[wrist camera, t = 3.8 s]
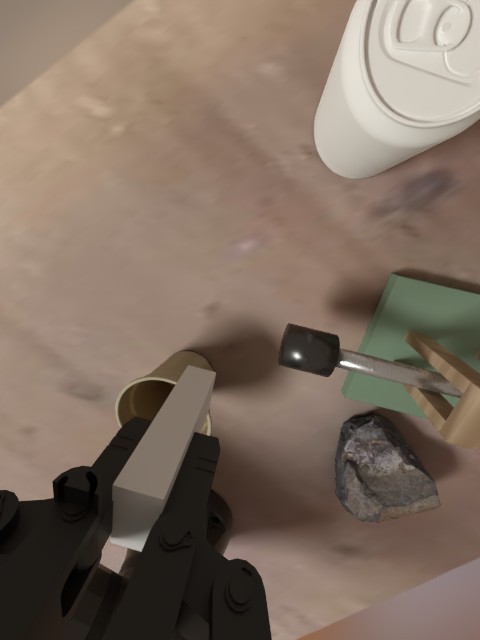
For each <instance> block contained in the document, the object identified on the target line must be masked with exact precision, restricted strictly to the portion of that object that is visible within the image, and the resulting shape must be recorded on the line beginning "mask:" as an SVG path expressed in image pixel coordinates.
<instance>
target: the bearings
mask: <svg viewBox="0 0 480 640" xmlns="http://www.w3.org/2000/svg"><path fill="white" fill-rule="evenodd" d="M403 340H404V341H406V342H407V343H408V344H409V345H410V346H411V347H412V348H413V349H414V350H415V351H417V352H418V353H419V354H420V355H421V356H422V357H423V358H424V359H425V360H426V361H428V362H429V363H430V364H431V365H432V366H433V367H434V368H435V369H436V370H437V371H438V372H440V373H441V374H442V375H443V376H444V377H445V378H446V379H447V380H448V381H449V382H451V383H452V384H453V385H454V386H455V387H456V388H457V389H458V390H459V391H460V392H462V393H463V395H462V397H461V398H460V400H459V401H458V403H457V404H456V406H455V408H454V407H453V406H452V405H451V404H450V403H449V402H448V401H447V400H446V399H445V398H444V397H443V396H442V395H441V394H440V393H437V392H433V391H429V390H425V389H421V388H417V387H413V386H409V385H405V384H402V385H403V387H404V388H405V389H406V390H407V392H408V393H409V394H410V395H411V397H412V398H413V399H414V401H415V402H416V403H417V404H418V406H419V407H420V408H421V410H422V411H423V412H424V413H425V415H426V416H427V417H428V419H429V420H430V421H431V422H432V424H433V425H434V426H435V427H436V429H437V430H438V431H439V433H440V434H441V435H442V436H443V438H444V439H445V440H446V442H447V443H451V444H455V445H458V446H462V447H466V448H470V449H474V450H477V449H478V448H479V447H480V373H479V372H477V371H476V370H475V369H473V368H472V367H470V366H469V365H468V364H466V363H465V362H464V361H462V360H461V359H460V358H458V357H457V356H455V355H454V354H453V353H451V352H450V351H449V350H447V349H446V348H445V347H443V346H442V345H440V344H439V343H438V342H436V341H435V340H434V339H432V338H431V337H430V336H428V335H425V334H420V333H416V332H412V331H407V333H406V335H405V337H404V339H403ZM474 357H475V358H477V359H478V360H480V348H479V350H478V351H477V353H476V355H475V356H474ZM393 361H394V362H398V363H402V364H406V365H410V366H413V365H412V364H408V363H404V362H400V361H396V360H393Z"/></svg>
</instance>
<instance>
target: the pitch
mask: <svg viewBox="0 0 480 640" xmlns="http://www.w3.org/2000/svg"><path fill="white" fill-rule="evenodd" d="M407 331H412V332H416V333H420V334H425V335H428V336H430V337H431V338H432V339H434V340H435V341H436V342H438V343H439V344H440V345H442V346H443V347H445V348H446V349H447V350H449V351H450V352H451V353H453V354H454V355H455V356H457V357H458V358H460V359H461V360H462V361H464V362H465V363H466V364H468V365H469V366H470V367H472V368H473V369H475V370H476V371H477V372H479V373H480V360H478V359H477V358H475V357H474V356H475V355H476V353H477V351H478V350H479V348H480V294H479V293H475V292H470V291H466V290H462V289H457V288H453V287H449V286H444V285H440V284H436V283H431V282H427V281H423V280H419V279H414V278H410V277H406V276H401V275H397V274H393V273H391V275H390V277H389V280H388V282H387V284H386V287H385V289H384V291H383V294H382V296H381V298H380V301H379V303H378V305H377V308H376V310H375V312H374V315H373V317H372V319H371V322H370V324H369V326H368V329H367V331H366V333H365V336H364V338H363V340H362V343H361V345H360V347H359V350H358V352H357V353H362V354H366V355H370V356H374V357H378V358H382V359H386V360H390V361H393V360H396V361H400V362H404V363H408V364H412V365H413V366H414V367H418V368H422V369H426V370H430V371H434V372H438V371H437V370H436V369H435V368H434V367H433V366H432V365H431V364H430V363H429V362H428V361H426V360H425V359H424V358H423V357H422V356H421V355H420V354H419V353H418V352H417V351H415V350H414V349H413V348H412V347H411V346H410V345H409V344H408V343H407V342H406V341H404V340H403V339H404V337H405V335H406V333H407ZM438 373H440V372H438ZM341 390H342V392H343V395H344V398H348V399H352V400H356V401H360V402H364V403H368V404H372V405H376V406H379V407H383V408H387V409H391V410H395V411H399V412H403V413H407V414H410V415H414V416H418V417H422V418H426V419H428V417H427V416H426V415H425V413H424V412H423V411H422V410H421V408H420V407H419V406H418V404H417V403H416V402H415V401H414V399H413V398H412V397H411V395H410V394H409V393H408V392H407V390H406V389H405V388H404V387H403V385H402V384H401V383H397V382H393V381H390V380H386V379H382V378H378V377H374V376H370V375H366V374H362V373H358V372H354V371H349V373H348V375H347V378H346V380H345V382H344V385H343V387H342V389H341ZM440 394H441V393H440ZM441 395H442V396H443V397H444V398H445V399H446V400H447V401H448V402H449V403H450V404H451V405H452V406H453V407H454V408H455V406H456V404H457V403H458V401H459V400H460V398H457V397H453V396H449V395H445V394H441Z"/></svg>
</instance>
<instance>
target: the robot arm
mask: <svg viewBox="0 0 480 640" xmlns="http://www.w3.org/2000/svg"><path fill="white" fill-rule="evenodd" d="M215 376H216V372H213V371H209V370H205V369H201V368H197V367H194V366H190V365H188V366H187V368H186V369H185V371H184V372H183V374H182V376H181V377H180V379H179V380H178V382H177V384H176V385H175V387H174V388H173V390H172V391H171V393H170V395H169V396H168V398H167V399H166V401H165V403H164V404H163V406H162V407H161V409H160V411H159V412H158V414H157V415H156V417H155V418H154V420H153V421H151V420H147V419H144V418H140V417H137V416H135V417H134V418H132V419H131V420H129V421H128V422H126V423H125V424H124V425H123V426H122V427H121V429H120V430H119V431H118V433H117V434H116V436H115V437H114V438H113V439H112V441H111V442H110V443H109V445H108V446H107V447H106V448H105V450H104V451H103V452H102V454H101V455H100V456H99V458H98V459H97V460H96V461H95V463H94V464H93V465H92V467H88V466H80V467H75V468H71V469H70V470H68V471H66V472H64V473H62V474H61V475H59V476H58V477H57V478H56V479H55V480H54V481H53V492H54V498H52V499H46V500H33V501H19V500H18V498H17V496H16V495H15V493H13V492H10V491H8V490H0V640H272V638H271V631H270V624H269V616H268V609H267V601H266V594H265V589H264V585H263V582H262V578H261V576H260V575H259V573H258V572H257V570H256V568H255V567H254V566H252V565H251V564H250V563H249V562H247V561H245V560H241V559H233V560H227V559H226V558H225V557H224V556H223V554H224V552H225V550H226V548H227V545H228V543H229V539H230V534H231V527H232V516H231V512H230V510H229V508H228V506H227V505H226V503H225V502H224V501H223V500H222V499H221V498H220V497H219V496H218V495H217V494H216V493H214V492H213V491H212V490H211V486H212V482H213V478H214V474H215V470H216V466H217V462H218V458H219V454H220V445H219V440H218V438H216V437H212V436H208V435H205V434H201V431H202V428H203V425H204V423H205V420H206V417H207V415H208V410H209V405H210V401H211V396H212V391H213V386H214V381H215ZM110 534H111V541H110V543H114V544H117V545H120V546H124V547H127V548H128V549H127V554H126V558H125V561H124V563H123V565H122V567H121V570H120V572H119V574H117V573H115V572H114V571H112V570H111V569H109V568H107V567H105V566H104V565H102V564H100V563H99V562H100V560H101V557H102V549H103V547H104V545H105V543H106V541H107V540H108V538H109V536H110Z"/></svg>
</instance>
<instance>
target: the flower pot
mask: <svg viewBox="0 0 480 640" xmlns="http://www.w3.org/2000/svg"><path fill="white" fill-rule="evenodd" d="M188 365H190V366H194V367H197V368H201V369H205V370H209V371H213V370H212V368H211V366H210V365H209V363H208V362H207V360H206V359H205V358H204V357H203V356H201V355H199V354H197V353H194V352H190V351H181V352H178V353H176V354H174V355H172V356H171V357H169V358H168V359H167V360H166V361H165V362H164V363H163V364H161V365H160V366H159V367H158V368H156V369H155V370H154V371H153V372H152V373H150V374H149V375H146V376H144V377H141V378H138V379H135V380H133V381H132V382H130V383H129V384H127V385H126V386H125V387H124V388H123V389H122V390H121V391H120V393H119V395H118V397H117V400H116V405H115V414H116V419H117V422H118V425H119V427H120V429H121V427H122V426H123V425H124V424H125V423H126V422H128V421H129V420H131V419H132V418H134V417H135V416H137V417H140V418H144V419H147V420H151V421H153V420H154V418H155V417H156V415H157V414H158V412H159V411H160V409H161V407H162V406H163V404H164V403H165V401H166V399H167V398H168V396H169V395H170V393H171V391H172V390H173V388H174V387H175V385H176V384H177V382H178V380H179V379H180V377H181V376H182V374H183V372H184V371H185V369H186V368H187V366H188ZM211 429H212V421H211V416H210V411H209V410H208V415H207V417H206V420H205V423H204V425H203V428H202V431H201V434H205V435H208V436H210V434H211Z"/></svg>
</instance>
